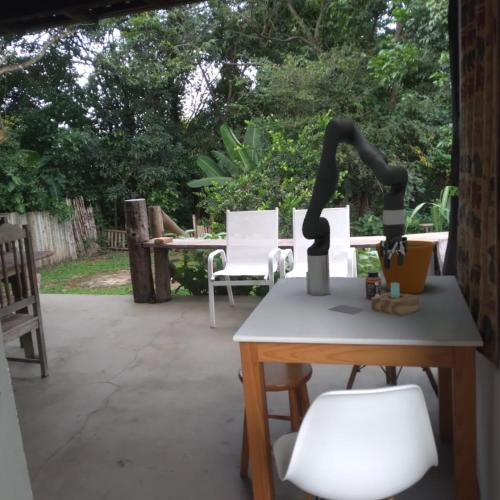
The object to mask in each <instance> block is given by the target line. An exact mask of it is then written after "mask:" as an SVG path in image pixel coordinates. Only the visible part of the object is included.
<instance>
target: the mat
mask: <svg viewBox="0 0 500 500" xmlns="http://www.w3.org/2000/svg"><path fill="white" fill-rule="evenodd" d="M366 310H367V311H368V308H363V307H357V306H351V305H345V304H339V305H337V306H334V307H330V308H328V309H327V311H332V312H338V313H342V314H343V313H344V314H348V315H356V314H359V313H362V312H364V311H366Z"/></svg>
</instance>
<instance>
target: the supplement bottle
mask: <svg viewBox="0 0 500 500" xmlns="http://www.w3.org/2000/svg"><path fill="white" fill-rule="evenodd" d="M367 275H368V276H366V277H365V299H366V300H369V301H371V298H373V297H376V296H379V295H382V279H381V276H379V271H377V270H371V271H370V270H369V271H368V272H367Z"/></svg>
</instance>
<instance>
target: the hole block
mask: <svg viewBox="0 0 500 500" xmlns="http://www.w3.org/2000/svg"><path fill="white" fill-rule="evenodd" d="M399 294H400V298H398V299H394V298H391V291H389V292H386V293H381V295H379V296H376V297H373V298H371V300H370V301H371V311H373V312H379V313H385V314H391V315H395V316H400V317H404V316H407V315H409V314H411V313H414V312H416V311H419V310H420V296H419V295H416V294H415V295H414V294H410V293H399Z"/></svg>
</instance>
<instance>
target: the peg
mask: <svg viewBox="0 0 500 500" xmlns="http://www.w3.org/2000/svg"><path fill="white" fill-rule="evenodd" d="M390 292H391V298H394V299H398V298H400V294H399V283H391V291H390Z"/></svg>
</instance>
